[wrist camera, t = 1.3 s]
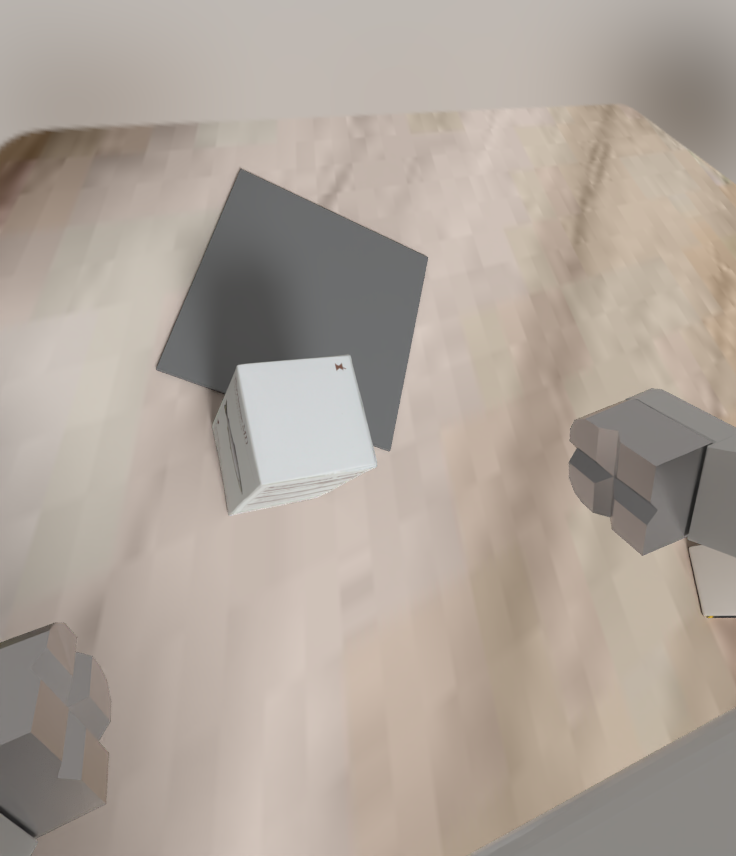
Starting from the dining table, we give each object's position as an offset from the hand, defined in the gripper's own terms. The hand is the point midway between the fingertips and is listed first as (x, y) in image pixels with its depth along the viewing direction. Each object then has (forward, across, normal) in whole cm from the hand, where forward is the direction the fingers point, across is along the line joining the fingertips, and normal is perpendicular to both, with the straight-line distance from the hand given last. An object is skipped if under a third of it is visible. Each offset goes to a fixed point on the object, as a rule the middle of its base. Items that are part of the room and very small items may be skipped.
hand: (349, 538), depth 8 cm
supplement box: (+30, +1, +18) cm, 35 cm away
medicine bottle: (+20, -39, +45) cm, 63 cm away
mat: (+40, -8, +11) cm, 42 cm away
